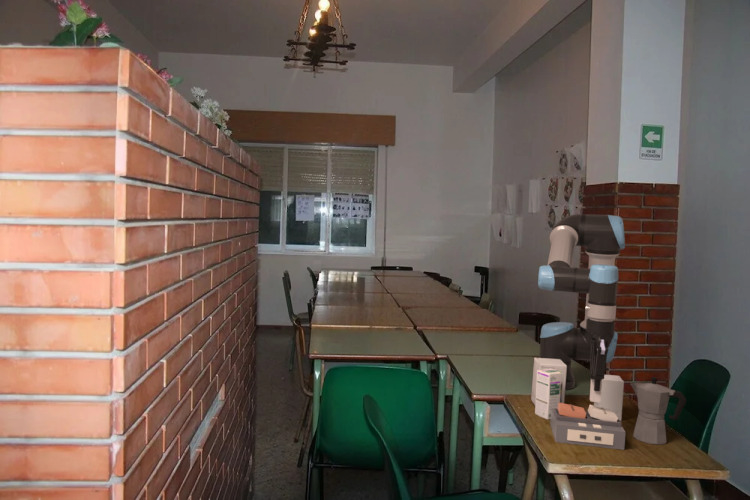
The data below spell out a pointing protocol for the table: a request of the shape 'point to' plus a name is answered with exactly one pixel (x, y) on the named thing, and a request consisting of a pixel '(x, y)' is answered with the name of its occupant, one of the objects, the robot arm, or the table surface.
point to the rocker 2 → (602, 413)
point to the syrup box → (548, 391)
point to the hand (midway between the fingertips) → (595, 400)
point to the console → (587, 431)
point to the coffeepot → (654, 411)
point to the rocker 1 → (571, 410)
